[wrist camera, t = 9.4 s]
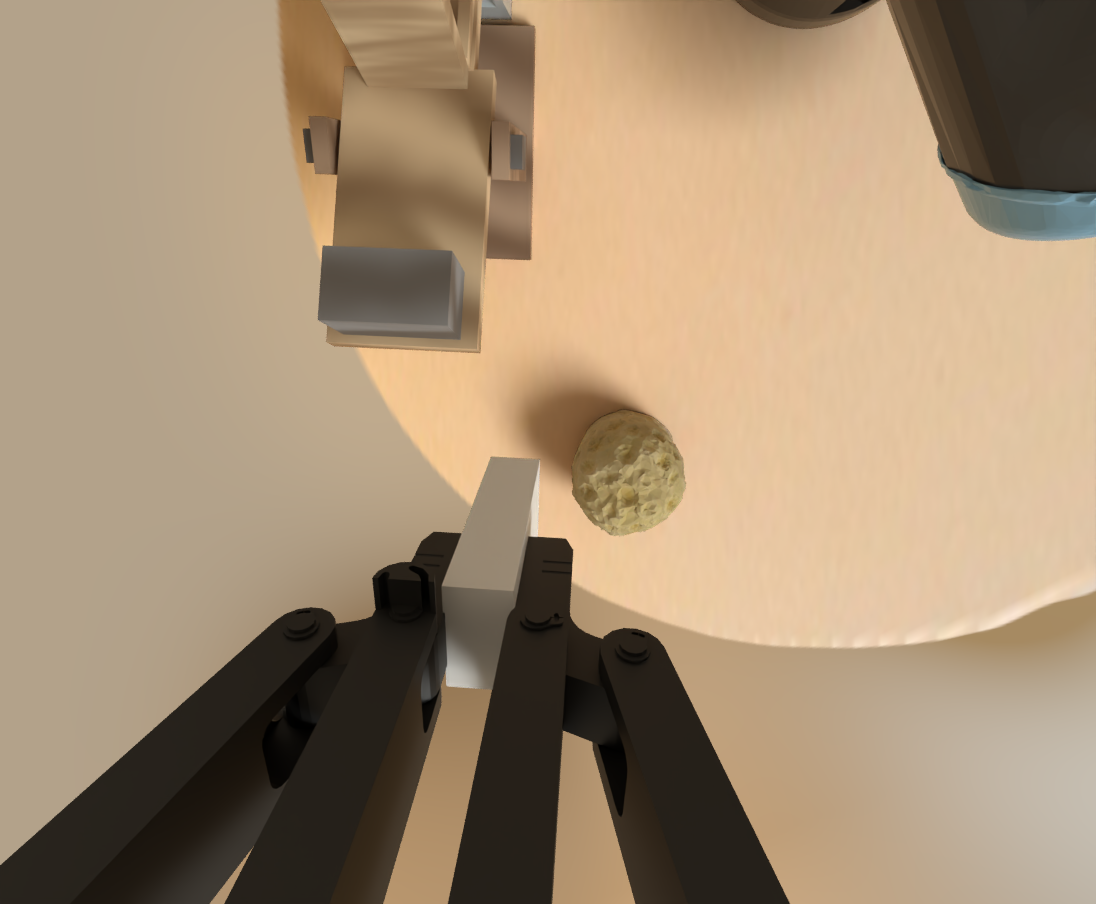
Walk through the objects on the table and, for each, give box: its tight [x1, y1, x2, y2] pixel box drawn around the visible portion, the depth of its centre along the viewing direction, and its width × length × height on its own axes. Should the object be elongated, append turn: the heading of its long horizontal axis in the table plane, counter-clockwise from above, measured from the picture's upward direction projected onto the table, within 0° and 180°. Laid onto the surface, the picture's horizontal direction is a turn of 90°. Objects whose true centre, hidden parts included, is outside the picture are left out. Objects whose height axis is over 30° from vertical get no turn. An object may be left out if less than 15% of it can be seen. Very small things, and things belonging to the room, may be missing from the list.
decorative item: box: [572, 410, 686, 536], centre depth 50 cm, size 10×10×10 cm
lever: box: [318, 0, 497, 353], centre depth 32 cm, size 22×9×9 cm
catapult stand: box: [303, 25, 535, 260], centre depth 39 cm, size 15×13×10 cm
